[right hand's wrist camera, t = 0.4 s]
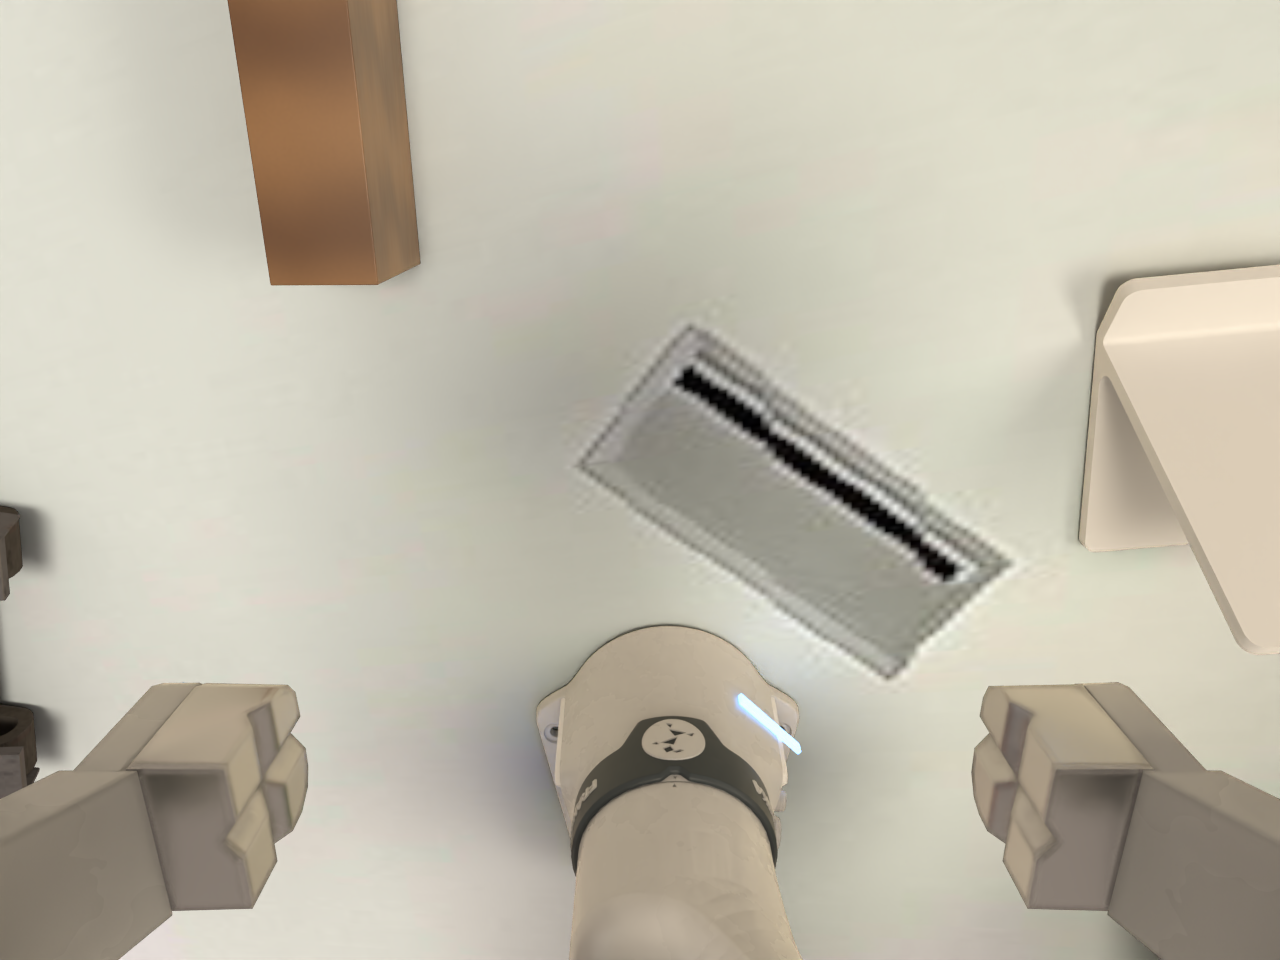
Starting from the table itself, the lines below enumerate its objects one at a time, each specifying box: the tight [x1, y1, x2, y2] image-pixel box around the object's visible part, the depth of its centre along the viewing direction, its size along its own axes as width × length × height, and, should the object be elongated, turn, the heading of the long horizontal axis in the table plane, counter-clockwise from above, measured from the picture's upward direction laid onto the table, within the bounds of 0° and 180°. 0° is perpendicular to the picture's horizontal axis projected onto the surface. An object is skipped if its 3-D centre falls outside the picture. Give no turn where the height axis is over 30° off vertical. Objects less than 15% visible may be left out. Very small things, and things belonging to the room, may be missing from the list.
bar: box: [228, 0, 420, 285], centre depth 44 cm, size 22×5×9 cm, turn 0°
